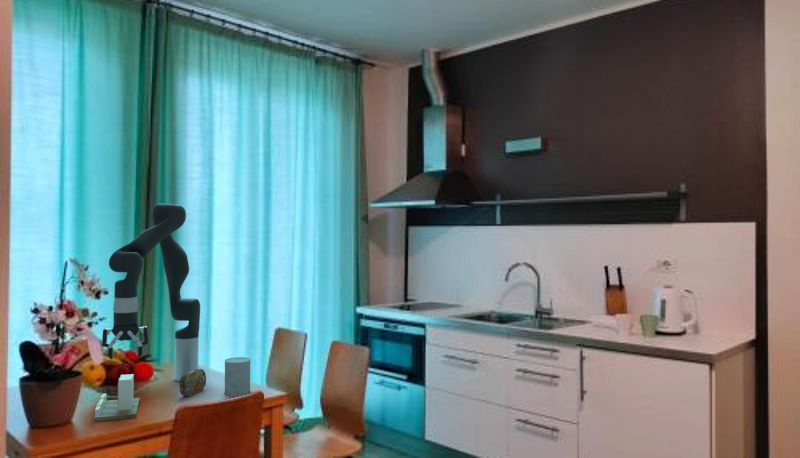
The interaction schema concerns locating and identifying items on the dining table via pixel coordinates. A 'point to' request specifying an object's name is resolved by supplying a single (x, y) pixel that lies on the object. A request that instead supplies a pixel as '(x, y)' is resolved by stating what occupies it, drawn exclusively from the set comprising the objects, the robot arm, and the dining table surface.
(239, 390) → the grey stone cylinder
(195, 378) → the tin
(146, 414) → the dining table surface
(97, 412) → the rail
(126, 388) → the carton
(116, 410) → the shelf board
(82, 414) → the dining table surface
